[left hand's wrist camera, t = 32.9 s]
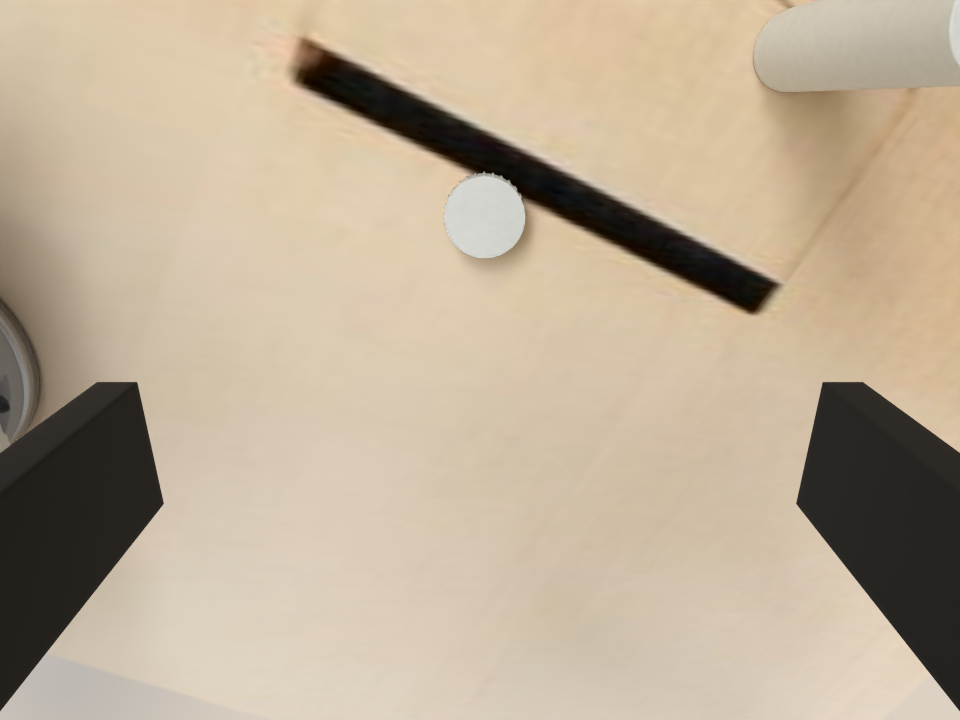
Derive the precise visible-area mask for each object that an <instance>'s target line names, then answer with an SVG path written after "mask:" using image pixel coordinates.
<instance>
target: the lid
mask: <svg viewBox="0 0 960 720" xmlns="http://www.w3.org/2000/svg"><path fill="white" fill-rule="evenodd" d="M521 198H522V196H521V194H520V193H518V192H517V188H516V186H513V185H512V184H511V183H510V181H509V180H508V181H507V180H506V179H504V178H503V177H502V176H497V175H494V173H492V174H488V173H485V172H483V173H481V174H476V173H474V175H472V176H469V177H468V176H466V178H465V179H464V180H462V181H459V183H458V185H457V186H456V187H453V189H452V192H451V194H449V195H448V197H447V199H448V201H447V203H445V206H444V207H445V211H444V214H443V216H444V221H445V222H444V225H445V227H446V231H447V232H446V233H447V234H448V236H449V238H450V239H451V241H452V242H453V244H454V245H455V246H456V247H457V248H458V249H460V250H461V251H462V252H464V253H465V254H468V255H470V256H473V257H476V258H493V257H497V256H500V255H502V254H504V253H506V252H507V251H509V250H510V249H511V248H512V247H513V246H514V245H515V244H516V243H517V242H518V241H519V239H520V237H521V235H522V233H523V230H524V225H525V224H526V222H525V215H526V212H525V209H524V206H525V204H524V202H522V200H521Z"/></svg>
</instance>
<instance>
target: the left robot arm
mask: <svg viewBox="0 0 960 720" xmlns="http://www.w3.org/2000/svg"><path fill="white" fill-rule="evenodd" d="M39 387H40V382H39V372H38V367H37V362H36V359H35V356H34V353H33V350H32V348H31V345H30V343H29V340H28V339H27V337H26V335H25V333H24V331H23V329H22V328H21V326H20V325H19V323H18V321H17V320H16V319H15V317H14V316H13V315H12V313H11V312H10V311H9V309H8V308H7V307H6V306H5V305H4V304H3V303H2V302H1V300H0V711H1V709H2V708H3V707H4V706H5V704H6V703H7V702H8V701H9V699H10V698H11V697H12V696H13V694H14V693H15V692H16V690H17V689H18V688H19V687H20V685H21V684H22V683H23V682H24V680H25V679H26V678H27V677H28V675H29V674H30V673H31V671H32V670H33V669H34V668H35V666H36V665H37V664H38V663H39V661H40V660H41V659H42V657H43V656H44V655H45V654H46V652H47V651H48V650H49V649H50V647H51V646H52V645H53V644H54V642H55V641H56V640H57V638H58V637H59V636H60V635H61V633H62V632H63V631H64V630H65V628H66V627H67V626H68V625H69V623H70V622H71V621H72V619H73V618H74V617H75V616H76V614H77V613H78V612H79V611H80V609H81V608H82V607H83V606H84V604H85V603H86V602H87V600H88V599H89V598H90V597H91V595H92V594H93V593H94V592H95V590H96V589H97V588H98V586H99V585H100V584H101V583H102V581H103V580H104V579H105V578H106V576H107V575H108V574H109V573H110V571H111V570H112V569H113V567H114V566H115V565H116V564H117V562H118V561H119V560H120V559H121V557H122V556H123V555H124V554H125V552H126V551H127V550H128V548H129V547H130V546H131V545H132V543H133V542H134V541H135V540H136V538H137V537H138V536H139V535H140V533H141V532H142V531H143V529H144V528H145V527H146V526H147V524H148V523H149V522H150V521H151V519H152V518H153V517H154V515H155V514H156V513H157V512H158V510H159V509H160V508H161V507H162V505H163V504H164V503H163V498H162V494H161V489H160V484H159V480H158V475H157V471H156V466H155V462H154V457H153V452H152V448H151V443H150V439H149V434H148V430H147V425H146V420H145V416H144V411H143V407H142V402H141V398H140V393H139V388H138V384H137V382H97V383H95V384H94V385H93V386H91V387H90V388H89V389H87V390H86V391H84V392H83V393H82V394H80V395H79V396H78V397H76V398H75V399H73V400H72V401H71V402H69V403H68V404H67V405H65V406H64V407H63V408H61V409H60V410H58V411H57V412H56V413H54V414H53V415H52V416H50V417H49V418H47V419H46V420H45V421H43V422H42V423H41V424H39V425H38V426H36V427H35V428H34V429H32V430H31V431H30V432H28V433H27V434H26V435H24V436H23V437H21V438H20V439H19V440H17V439H18V438H19V437H20V436H21V435H22V434H23V432H24V431H25V430H26V428H27V427H28V426H29V424H30V422H31V420H32V419H33V416H34V414H35V411H36V408H37V404H38V399H39ZM15 440H17V441H16V442H15V443H13V442H14V441H15ZM12 443H13V444H12ZM10 444H12V445H10ZM796 504H797V505H798V507H799V508H800V509H801V510H802V512H803V513H804V514H805V515H806V517H807V518H808V519H809V521H810V522H811V523H812V524H813V526H814V527H815V528H816V529H817V531H818V532H819V533H820V535H821V536H822V537H823V538H824V540H825V541H826V542H827V543H828V545H829V546H830V547H831V548H832V550H833V551H834V552H835V554H836V555H837V556H838V557H839V559H840V560H841V561H842V562H843V564H844V565H845V566H846V567H847V569H848V570H849V571H850V573H851V574H852V575H853V576H854V578H855V579H856V580H857V581H858V583H859V584H860V585H861V586H862V588H863V589H864V590H865V592H866V593H867V594H868V595H869V597H870V598H871V599H872V600H873V602H874V603H875V604H876V606H877V607H878V608H879V609H880V611H881V612H882V613H883V614H884V616H885V617H886V618H887V619H888V621H889V622H890V623H891V625H892V626H893V627H894V628H895V630H896V631H897V632H898V633H899V635H900V636H901V637H902V638H903V640H904V641H905V642H906V644H907V645H908V646H909V647H910V649H911V650H912V651H913V652H914V654H915V655H916V656H917V657H918V659H919V660H920V661H921V663H922V664H923V665H924V666H925V668H926V669H927V670H928V671H929V673H930V674H931V675H932V677H933V678H934V679H935V680H936V682H937V683H938V684H939V685H940V687H941V688H942V689H943V690H944V692H945V693H946V694H947V696H948V697H949V698H950V699H951V701H952V702H953V703H954V704H955V706H956V707H957V708H958V709H959V711H960V453H959V452H958V451H956V450H955V449H954V448H952V447H951V446H950V445H948V444H947V443H945V442H944V441H943V440H941V439H940V438H939V437H937V436H936V435H934V434H933V433H932V432H930V431H929V430H928V429H926V428H925V427H924V426H922V425H921V424H919V423H918V422H917V421H915V420H914V419H913V418H911V417H910V416H908V415H907V414H906V413H904V412H903V411H902V410H900V409H899V408H897V407H896V406H895V405H893V404H892V403H891V402H889V401H888V400H887V399H885V398H884V397H882V396H881V395H880V394H878V393H877V392H876V391H874V390H873V389H871V388H870V387H869V386H867V385H866V384H865V383H863V382H823V384H822V388H821V393H820V398H819V402H818V407H817V411H816V416H815V420H814V425H813V430H812V434H811V439H810V443H809V448H808V452H807V457H806V462H805V466H804V471H803V475H802V480H801V484H800V489H799V494H798V498H797V503H796Z"/></svg>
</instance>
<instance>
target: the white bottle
mask: <svg viewBox="0 0 960 720" xmlns="http://www.w3.org/2000/svg"><path fill="white" fill-rule="evenodd" d="M753 58H754V67H755V70H756V73H757V75H758V77H759V78H760V80H761V81H762V82H763V83H764V84H765V85H766V86H767V87H769V88H771V89H773V90H775V91H779V92H806V91H835V90H864V89H893V88H921V87H950V86H960V0H815V1H812V2H808V3H805V4H802V5H799V6H795V7H792V8H789V9H786V10H784V11H782V12H780V13H778V14H776V15H775V16H774V17H773V18H771V19H770V20H769V21H768V22H767V23H766V25H765V26H764V27H763V29H762V30H761V32H760V34H759V36H758V38H757V40H756V43H755V48H754V55H753Z"/></svg>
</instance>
